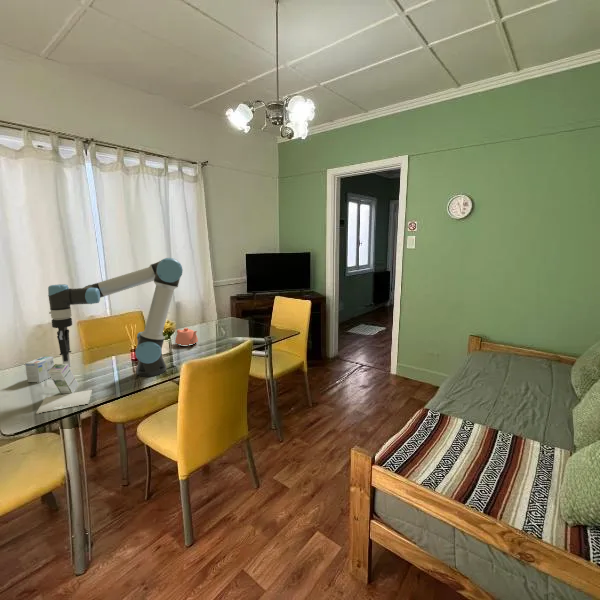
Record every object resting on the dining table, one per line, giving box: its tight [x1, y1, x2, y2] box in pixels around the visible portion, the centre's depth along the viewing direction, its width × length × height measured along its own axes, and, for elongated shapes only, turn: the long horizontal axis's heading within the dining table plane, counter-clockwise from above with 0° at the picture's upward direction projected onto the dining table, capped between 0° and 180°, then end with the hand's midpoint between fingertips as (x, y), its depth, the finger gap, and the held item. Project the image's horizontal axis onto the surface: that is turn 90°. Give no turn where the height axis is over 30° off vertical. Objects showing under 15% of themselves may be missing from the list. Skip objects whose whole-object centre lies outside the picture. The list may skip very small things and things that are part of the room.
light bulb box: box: [24, 356, 55, 384], centre depth 169 cm, size 11×7×11 cm, turn 178°
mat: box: [35, 389, 93, 415], centre depth 144 cm, size 18×16×1 cm
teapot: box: [174, 327, 199, 345], centre depth 230 cm, size 22×15×12 cm
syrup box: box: [48, 363, 80, 395], centre depth 150 cm, size 6×6×14 cm
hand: (67, 367), depth 152 cm, fingers closed
